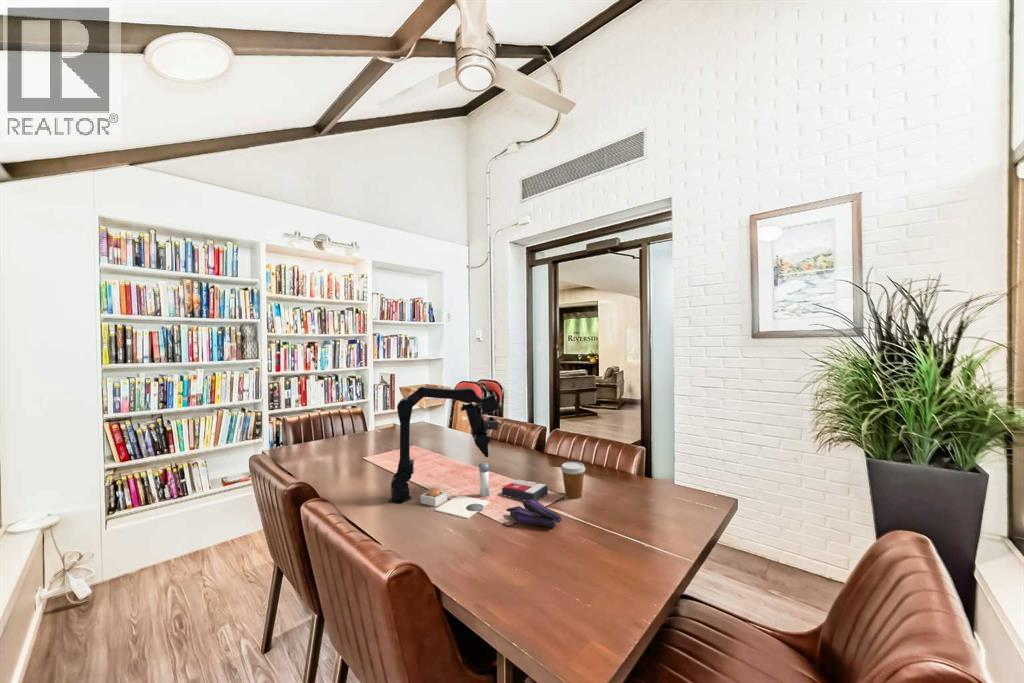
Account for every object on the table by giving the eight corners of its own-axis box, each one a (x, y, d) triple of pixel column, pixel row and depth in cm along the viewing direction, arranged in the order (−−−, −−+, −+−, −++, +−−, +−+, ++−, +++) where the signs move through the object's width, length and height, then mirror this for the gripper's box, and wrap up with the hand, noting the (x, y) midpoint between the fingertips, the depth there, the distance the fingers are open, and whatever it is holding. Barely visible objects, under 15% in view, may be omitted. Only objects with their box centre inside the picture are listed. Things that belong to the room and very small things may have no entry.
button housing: (420, 503, 156) (420, 495, 156) (433, 496, 162) (432, 489, 162) (435, 506, 152) (435, 498, 152) (447, 499, 159) (447, 492, 159)
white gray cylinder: (478, 496, 161) (477, 465, 161) (483, 492, 165) (482, 462, 164) (486, 497, 159) (485, 466, 159) (491, 494, 163) (490, 463, 163)
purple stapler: (565, 505, 136) (517, 488, 148) (548, 521, 127) (498, 502, 139) (565, 524, 137) (517, 506, 149) (548, 542, 128) (498, 521, 140)
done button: (425, 497, 156) (425, 491, 156) (433, 493, 160) (433, 487, 160) (434, 499, 154) (434, 492, 154) (442, 495, 158) (442, 488, 158)
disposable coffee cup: (590, 497, 157) (589, 467, 157) (569, 502, 153) (568, 470, 153) (577, 489, 166) (577, 460, 165) (557, 493, 162) (556, 463, 162)
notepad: (434, 510, 149) (434, 509, 149) (458, 496, 162) (458, 494, 162) (469, 519, 141) (469, 517, 141) (492, 503, 154) (492, 501, 154)
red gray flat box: (517, 478, 171) (547, 483, 162) (517, 488, 171) (548, 494, 162) (501, 486, 162) (532, 492, 153) (502, 497, 162) (533, 503, 153)
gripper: (497, 415, 157) (508, 453, 158) (490, 407, 176) (500, 441, 177) (469, 424, 155) (481, 463, 156) (466, 415, 174) (476, 450, 175)
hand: (485, 453), depth 166 cm, fingers open, 9 cm apart
